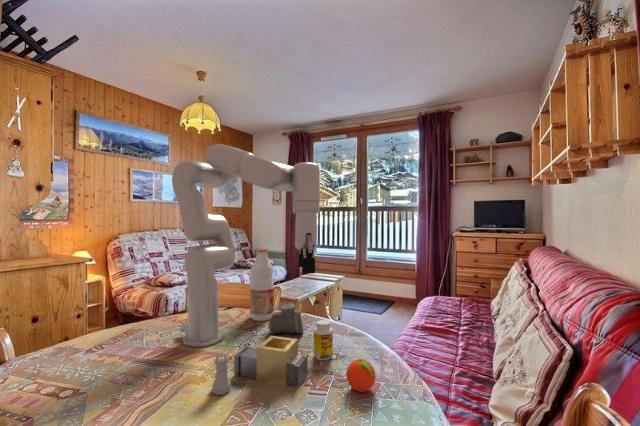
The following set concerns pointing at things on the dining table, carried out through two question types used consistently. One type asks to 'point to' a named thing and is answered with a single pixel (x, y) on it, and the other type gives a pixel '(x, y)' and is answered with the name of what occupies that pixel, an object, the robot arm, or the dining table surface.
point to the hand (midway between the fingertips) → (306, 270)
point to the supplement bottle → (323, 340)
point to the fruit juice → (261, 287)
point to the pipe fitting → (286, 320)
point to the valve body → (273, 362)
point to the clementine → (360, 375)
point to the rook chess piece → (221, 376)
